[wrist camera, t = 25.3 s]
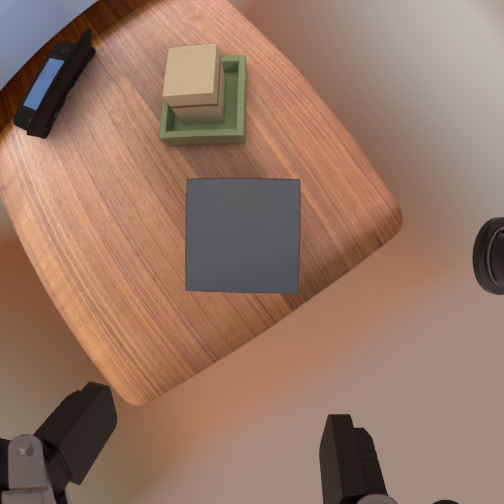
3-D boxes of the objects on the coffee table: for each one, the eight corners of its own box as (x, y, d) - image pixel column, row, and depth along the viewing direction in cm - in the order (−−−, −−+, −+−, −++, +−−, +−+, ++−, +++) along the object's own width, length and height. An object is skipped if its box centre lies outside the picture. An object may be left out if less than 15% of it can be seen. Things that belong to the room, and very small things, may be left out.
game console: (62, 43, 36) (34, 18, 27) (118, 56, 36) (91, 25, 27) (15, 124, 37) (-21, 110, 28) (64, 149, 37) (25, 134, 28)
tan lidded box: (226, 80, 35) (217, 42, 26) (224, 123, 36) (213, 93, 27) (187, 82, 36) (168, 47, 27) (183, 125, 36) (161, 97, 27)
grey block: (285, 200, 37) (300, 179, 22) (284, 269, 37) (298, 293, 22) (216, 199, 37) (186, 178, 22) (215, 268, 37) (185, 291, 22)
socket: (247, 68, 36) (245, 55, 32) (245, 143, 36) (243, 135, 33) (174, 72, 36) (167, 60, 33) (167, 146, 37) (158, 138, 33)
